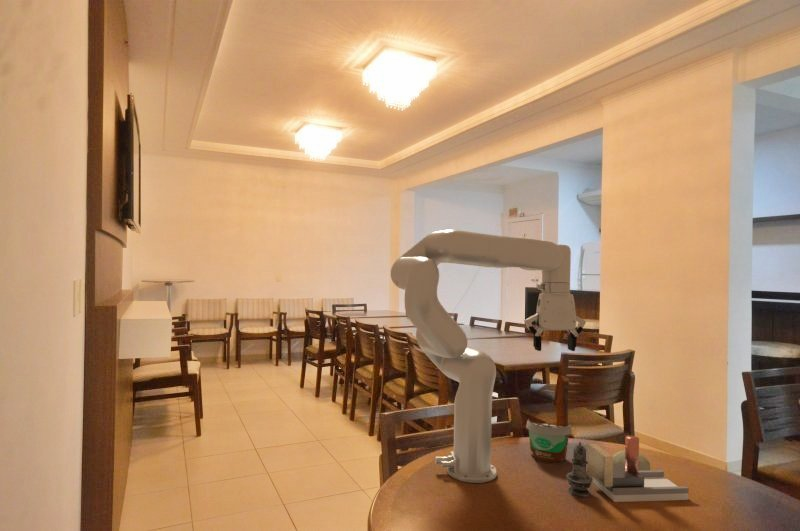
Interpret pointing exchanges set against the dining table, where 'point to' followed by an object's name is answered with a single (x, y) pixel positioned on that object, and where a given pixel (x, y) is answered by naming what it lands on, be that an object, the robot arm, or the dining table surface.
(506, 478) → the dining table surface
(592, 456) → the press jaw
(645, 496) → the press bed
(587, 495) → the grey figurine
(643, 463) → the sea urchin shell
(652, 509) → the dining table surface
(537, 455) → the food container
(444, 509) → the dining table surface
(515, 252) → the robot arm
